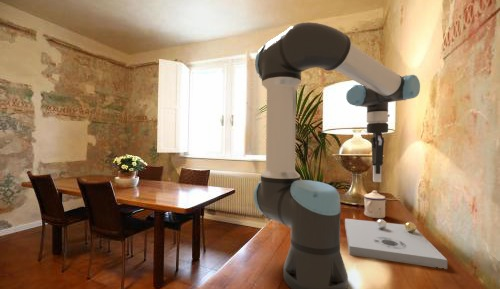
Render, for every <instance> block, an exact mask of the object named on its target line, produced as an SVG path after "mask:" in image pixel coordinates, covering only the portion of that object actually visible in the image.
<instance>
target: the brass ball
mask: <svg viewBox="0 0 500 289" xmlns="http://www.w3.org/2000/svg"><path fill="white" fill-rule="evenodd" d="M404 225H405V229H406V230H407V231H408V232H414V231H416V229H417V226H416V224H415V223H414V222H412V221H408V222H406V223H405V224H404Z"/></svg>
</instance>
